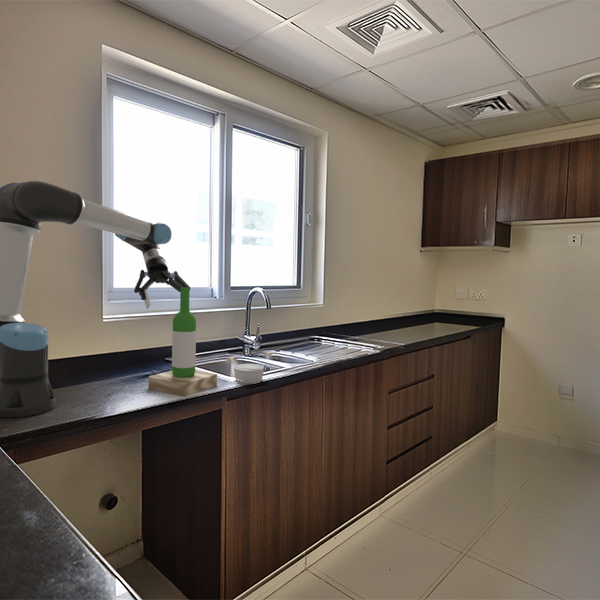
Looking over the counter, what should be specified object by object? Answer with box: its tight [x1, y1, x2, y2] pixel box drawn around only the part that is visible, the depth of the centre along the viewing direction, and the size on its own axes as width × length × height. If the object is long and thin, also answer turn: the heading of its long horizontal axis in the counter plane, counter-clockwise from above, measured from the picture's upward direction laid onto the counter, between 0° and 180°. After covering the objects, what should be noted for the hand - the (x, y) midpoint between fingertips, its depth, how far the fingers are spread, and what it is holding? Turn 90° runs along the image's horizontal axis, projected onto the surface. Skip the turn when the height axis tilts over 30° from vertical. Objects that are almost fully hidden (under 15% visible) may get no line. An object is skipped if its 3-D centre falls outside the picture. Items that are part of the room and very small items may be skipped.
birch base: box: [148, 369, 218, 397], centre depth 148 cm, size 16×16×4 cm
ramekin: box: [233, 363, 265, 385], centre depth 160 cm, size 11×11×5 cm
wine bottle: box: [171, 287, 197, 377], centre depth 147 cm, size 8×8×30 cm
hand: (167, 306), depth 155 cm, fingers open, 13 cm apart
